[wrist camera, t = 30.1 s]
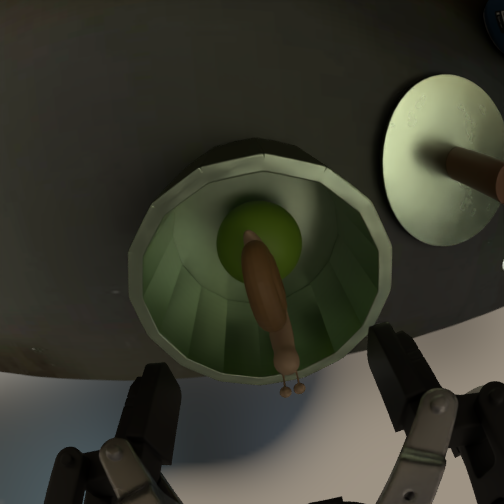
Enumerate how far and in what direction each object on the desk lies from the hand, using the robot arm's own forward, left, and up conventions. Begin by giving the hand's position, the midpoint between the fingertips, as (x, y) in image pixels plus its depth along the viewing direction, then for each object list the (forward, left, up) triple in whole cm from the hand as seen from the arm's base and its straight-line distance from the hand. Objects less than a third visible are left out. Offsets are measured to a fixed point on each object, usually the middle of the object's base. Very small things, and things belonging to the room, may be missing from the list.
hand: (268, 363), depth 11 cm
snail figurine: (0, 0, -13) cm, 13 cm away
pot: (0, 0, -13) cm, 13 cm away
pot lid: (+3, -17, -12) cm, 21 cm away
